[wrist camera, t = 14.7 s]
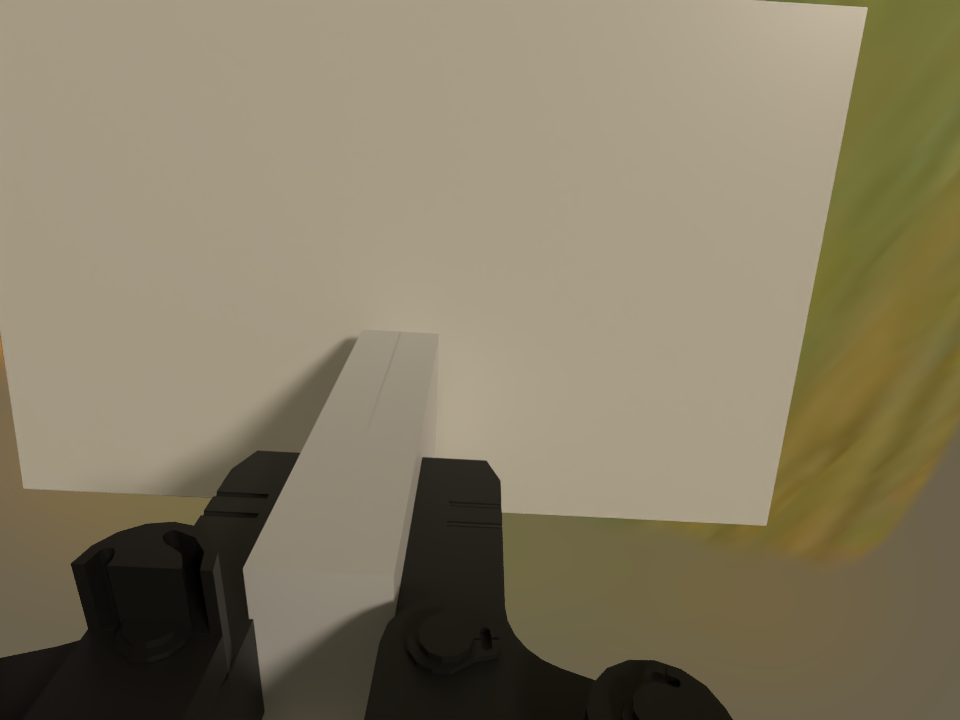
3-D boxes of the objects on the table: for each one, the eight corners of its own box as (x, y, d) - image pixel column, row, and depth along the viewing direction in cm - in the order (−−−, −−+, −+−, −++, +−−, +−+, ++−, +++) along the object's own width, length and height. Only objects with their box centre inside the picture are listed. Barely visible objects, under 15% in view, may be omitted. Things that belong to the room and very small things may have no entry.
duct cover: (47, 472, 15) (23, 488, 14) (-22, -36, 12) (-57, -51, 11) (751, 507, 15) (766, 525, 14) (842, 19, 12) (867, 7, 11)
